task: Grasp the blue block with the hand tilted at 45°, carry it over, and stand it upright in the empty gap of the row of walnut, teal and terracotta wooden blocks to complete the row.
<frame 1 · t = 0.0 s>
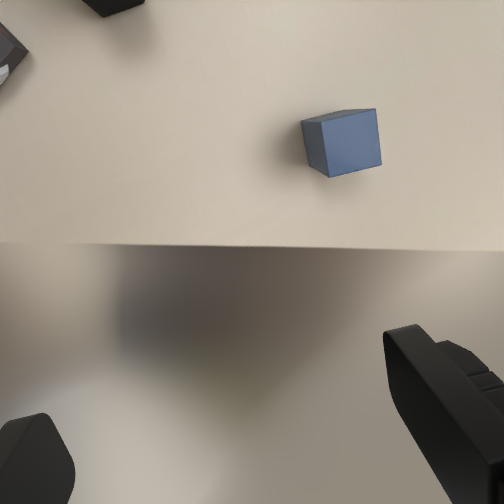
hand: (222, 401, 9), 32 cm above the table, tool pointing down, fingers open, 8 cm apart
blue block: (326, 138, 38), on the table
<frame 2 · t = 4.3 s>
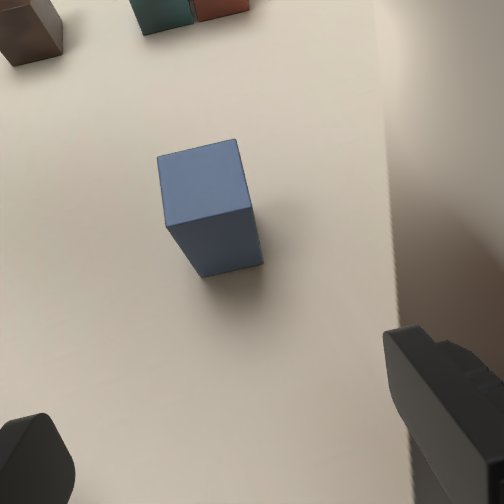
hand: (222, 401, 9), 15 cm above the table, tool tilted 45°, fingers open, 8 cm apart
blue block: (226, 242, 28), on the table
block row: (101, 28, 38), on the table
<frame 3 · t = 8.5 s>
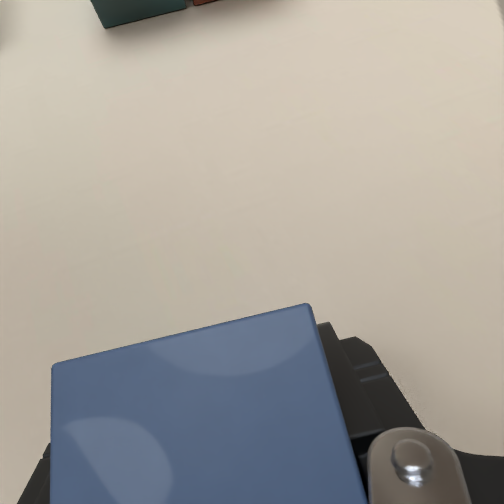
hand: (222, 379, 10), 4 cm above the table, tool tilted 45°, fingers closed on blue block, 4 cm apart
blue block: (255, 451, 13), on the table, touching gripper
block row: (39, 18, 24), on the table
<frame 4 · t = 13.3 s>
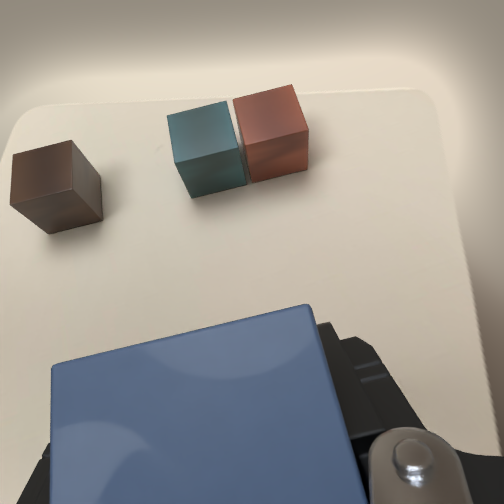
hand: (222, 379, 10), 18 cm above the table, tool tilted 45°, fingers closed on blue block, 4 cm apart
blue block: (255, 451, 13), point 14 cm above the table, touching gripper
block row: (144, 186, 35), on the table
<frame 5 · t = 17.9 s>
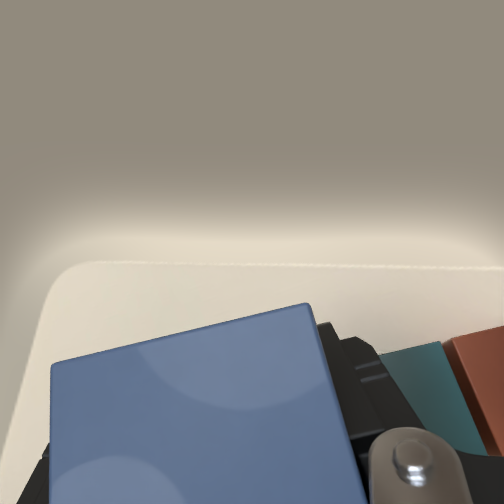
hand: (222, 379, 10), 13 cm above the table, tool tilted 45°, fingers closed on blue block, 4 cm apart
blue block: (255, 451, 13), point 9 cm above the table, touching gripper
block row: (268, 440, 21), on the table
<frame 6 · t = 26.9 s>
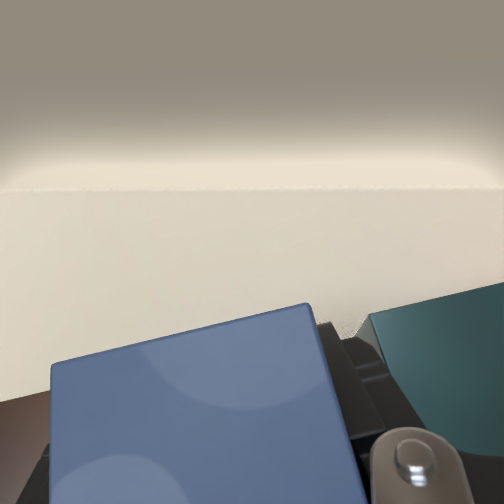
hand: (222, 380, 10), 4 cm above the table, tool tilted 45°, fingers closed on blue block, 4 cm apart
blue block: (255, 451, 13), on the table, touching gripper
block row: (252, 450, 13), on the table
when the fingers open (5 cm above the table, at t = 27.4 s): blue block drops 1 cm, on the table.
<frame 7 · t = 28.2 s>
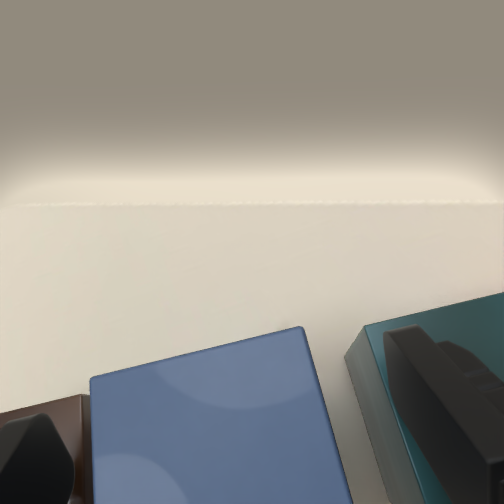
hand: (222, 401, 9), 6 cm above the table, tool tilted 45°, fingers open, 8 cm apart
blue block: (257, 450, 14), on the table
block row: (258, 448, 14), on the table
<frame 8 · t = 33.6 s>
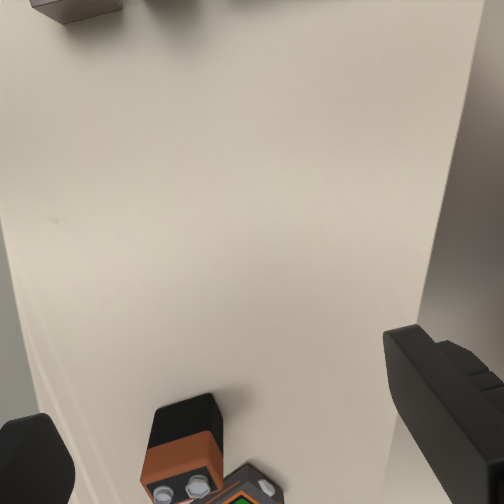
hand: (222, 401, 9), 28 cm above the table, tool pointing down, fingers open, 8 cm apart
electronic device: (222, 503, 49), on the table
battery: (189, 412, 44), on the table
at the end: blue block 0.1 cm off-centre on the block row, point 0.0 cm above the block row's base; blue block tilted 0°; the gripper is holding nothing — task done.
